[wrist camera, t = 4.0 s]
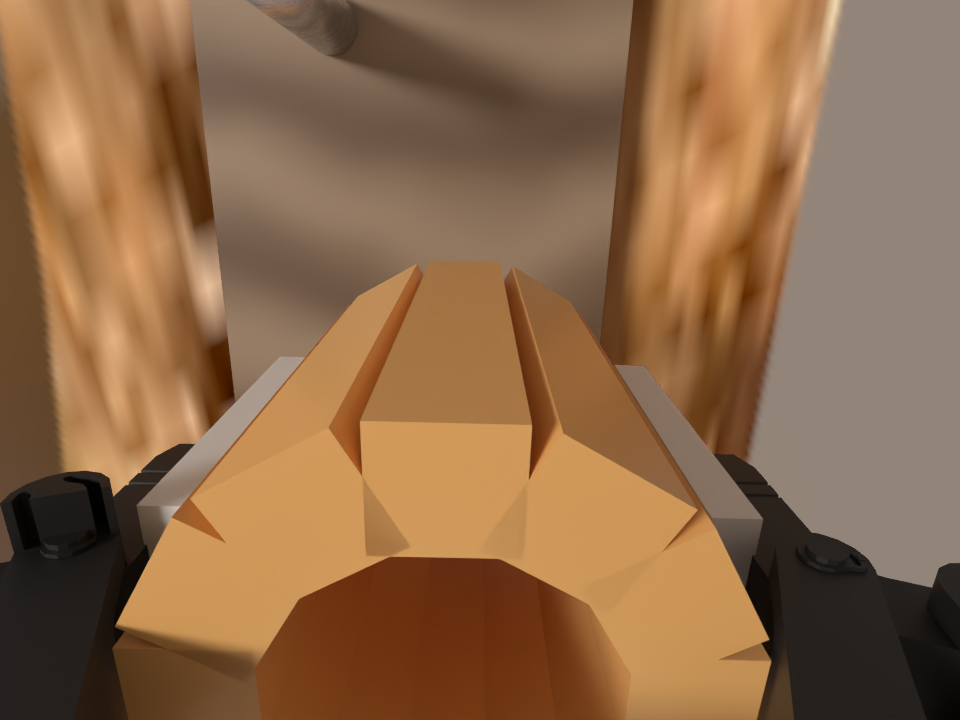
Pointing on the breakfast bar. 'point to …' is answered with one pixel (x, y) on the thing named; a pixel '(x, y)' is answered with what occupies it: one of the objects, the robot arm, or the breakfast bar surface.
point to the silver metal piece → (315, 22)
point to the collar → (444, 536)
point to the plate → (406, 155)
